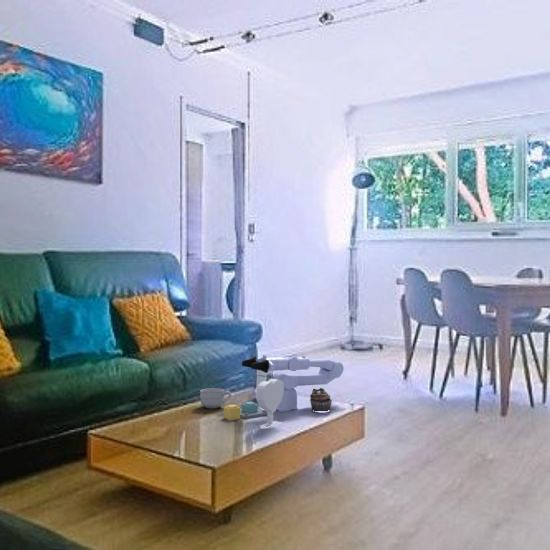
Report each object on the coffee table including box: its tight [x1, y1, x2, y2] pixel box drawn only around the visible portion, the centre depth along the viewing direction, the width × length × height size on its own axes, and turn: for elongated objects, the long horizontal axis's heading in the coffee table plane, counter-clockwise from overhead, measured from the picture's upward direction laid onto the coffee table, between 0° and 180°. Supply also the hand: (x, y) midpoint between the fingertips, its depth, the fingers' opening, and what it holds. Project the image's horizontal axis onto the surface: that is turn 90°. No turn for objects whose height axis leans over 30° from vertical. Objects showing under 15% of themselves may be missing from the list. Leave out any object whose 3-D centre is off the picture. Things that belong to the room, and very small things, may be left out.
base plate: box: [240, 401, 267, 420], centre depth 267 cm, size 12×12×5 cm
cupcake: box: [309, 387, 333, 411], centre depth 272 cm, size 10×10×10 cm
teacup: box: [199, 387, 232, 409], centre depth 277 cm, size 14×11×8 cm
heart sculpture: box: [255, 379, 284, 427], centre depth 250 cm, size 16×5×18 cm, turn 148°
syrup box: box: [256, 370, 274, 387], centre depth 298 cm, size 6×6×14 cm
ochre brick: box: [223, 404, 241, 421], centre depth 259 cm, size 5×5×5 cm
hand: (247, 364), depth 264 cm, fingers open, 7 cm apart
